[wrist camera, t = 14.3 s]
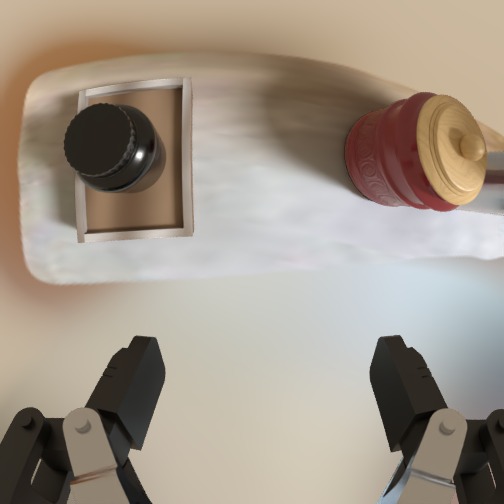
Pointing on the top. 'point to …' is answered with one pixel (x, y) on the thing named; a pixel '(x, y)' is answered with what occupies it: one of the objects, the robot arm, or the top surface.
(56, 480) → the robot arm
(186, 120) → the open rectangular tray
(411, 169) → the canister
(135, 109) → the supplement bottle
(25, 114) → the top surface
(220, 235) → the top surface
